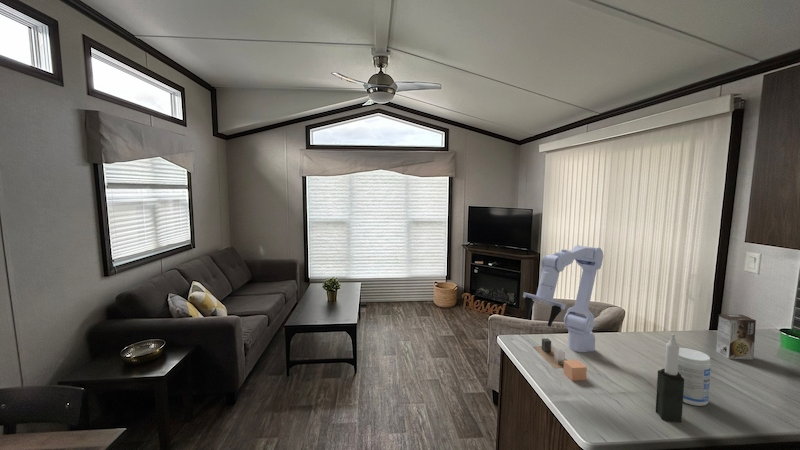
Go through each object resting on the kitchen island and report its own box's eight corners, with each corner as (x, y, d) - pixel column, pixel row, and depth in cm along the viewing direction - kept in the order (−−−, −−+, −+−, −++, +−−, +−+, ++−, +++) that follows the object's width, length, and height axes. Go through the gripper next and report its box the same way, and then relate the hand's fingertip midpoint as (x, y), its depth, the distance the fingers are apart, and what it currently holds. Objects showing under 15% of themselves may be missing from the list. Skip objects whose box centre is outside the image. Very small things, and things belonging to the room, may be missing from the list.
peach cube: (577, 376, 122) (577, 360, 122) (586, 384, 117) (586, 367, 117) (563, 376, 122) (563, 360, 122) (571, 384, 117) (572, 368, 116)
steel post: (560, 360, 131) (561, 349, 130) (564, 363, 128) (564, 352, 128) (554, 360, 131) (554, 349, 130) (557, 364, 128) (558, 352, 128)
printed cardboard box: (739, 352, 139) (742, 314, 138) (754, 360, 133) (757, 320, 132) (715, 351, 140) (717, 313, 139) (728, 359, 134) (731, 319, 133)
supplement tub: (712, 410, 102) (716, 363, 101) (672, 401, 107) (675, 356, 106) (702, 394, 111) (705, 350, 110) (666, 386, 115) (668, 344, 114)
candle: (683, 423, 97) (689, 338, 95) (663, 420, 98) (668, 336, 96) (673, 412, 102) (678, 331, 100) (653, 410, 103) (658, 329, 101)
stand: (550, 349, 144) (551, 335, 143) (575, 371, 126) (575, 355, 125) (532, 350, 143) (532, 336, 143) (554, 372, 125) (555, 356, 125)
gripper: (524, 279, 127) (515, 315, 125) (566, 290, 118) (557, 329, 116) (529, 282, 132) (520, 316, 130) (569, 293, 124) (560, 329, 122)
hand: (538, 322), depth 124 cm, fingers open, 7 cm apart
